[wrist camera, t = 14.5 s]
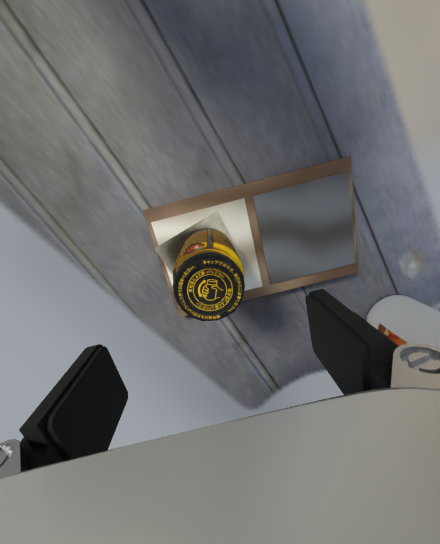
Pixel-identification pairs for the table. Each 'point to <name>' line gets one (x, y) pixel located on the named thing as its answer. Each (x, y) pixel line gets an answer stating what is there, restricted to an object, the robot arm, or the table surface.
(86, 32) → the table surface
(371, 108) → the table surface
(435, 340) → the milk bottle
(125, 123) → the table surface
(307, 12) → the table surface
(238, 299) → the condiment
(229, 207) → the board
